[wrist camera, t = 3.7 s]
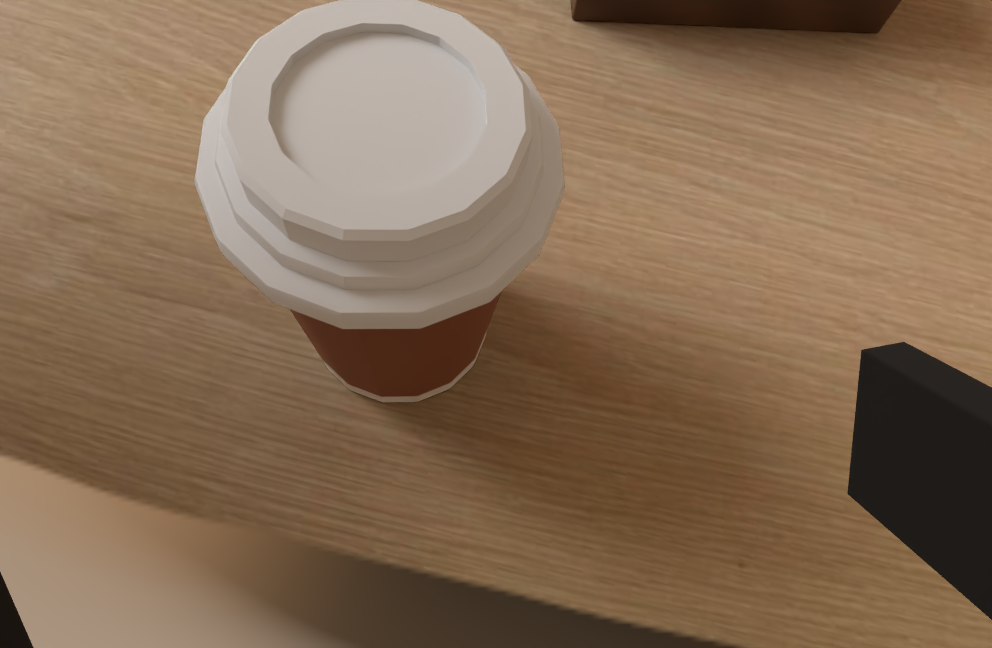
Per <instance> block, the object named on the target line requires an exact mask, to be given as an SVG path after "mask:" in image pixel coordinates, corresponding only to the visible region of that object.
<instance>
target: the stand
mask: <svg viewBox="0 0 992 648" xmlns="http://www.w3.org/2000/svg"><path fill="white" fill-rule="evenodd" d="M900 1H901V0H571V10H572V19H573V20H587V21H610V22H633V23H656V24H679V25H703V26H726V27H749V28H772V29H795V30H819V31H842V32H865V33H878V32H879V31H880V29H881V28H882V26H883V25H884V24H885V22H886V21H887V19H888V18H889V17H890V15H891V14H892V12H893V11H894V10H895V8H896V7H897V6H898V4H899V3H900Z"/></svg>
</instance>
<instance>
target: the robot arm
mask: <svg viewBox="0 0 992 648" xmlns="http://www.w3.org/2000/svg"><path fill="white" fill-rule="evenodd" d="M848 495H850V496H851V497H852V498H853V499H854V500H855V501H856V502H858V503H859V504H860V505H861V506H862V507H863V508H864V509H866V510H867V511H868V512H869V513H870V514H871V515H872V516H874V517H875V518H876V519H877V520H878V521H879V522H880V523H882V524H883V525H884V526H885V527H886V528H887V529H888V530H890V531H891V532H892V533H893V534H894V535H895V536H896V537H898V538H899V539H900V540H901V541H902V542H903V543H904V544H906V545H907V546H908V547H909V548H910V549H911V550H912V551H914V552H915V553H916V554H917V555H918V556H919V557H921V558H922V559H923V560H924V561H925V562H926V563H927V564H929V565H930V566H931V567H932V568H933V569H934V570H935V571H937V572H938V573H939V574H940V575H941V576H942V577H943V578H945V579H946V580H947V581H948V582H949V583H950V584H951V585H953V586H954V587H955V588H956V589H957V590H958V591H959V592H961V593H962V594H963V595H964V596H965V597H966V598H967V599H969V600H970V601H971V602H972V603H973V604H974V605H975V606H977V607H978V608H979V609H980V610H981V611H982V612H983V613H985V614H986V615H987V616H988V617H989V618H990V619H991V620H992V388H991V387H989V386H988V385H986V384H984V383H982V382H980V381H978V380H976V379H974V378H972V377H970V376H968V375H966V374H965V373H963V372H961V371H959V370H957V369H955V368H953V367H951V366H949V365H947V364H945V363H943V362H942V361H940V360H938V359H936V358H934V357H932V356H930V355H928V354H926V353H924V352H922V351H920V350H918V349H917V348H915V347H913V346H911V345H909V344H907V343H905V342H901V343H896V344H891V345H885V346H880V347H875V348H869V349H864V350H862V351H861V361H860V371H859V381H858V392H857V402H856V412H855V423H854V433H853V443H852V453H851V464H850V474H849V484H848ZM0 648H33V646H32V644H31V641H30V639H29V637H28V634H27V632H26V630H25V627H24V626H23V623H22V621H21V618H20V616H19V614H18V611H17V609H16V607H15V605H14V602H13V600H12V598H11V595H10V593H9V591H8V589H7V587H6V584H5V582H4V579H3V577H2V575H1V572H0Z"/></svg>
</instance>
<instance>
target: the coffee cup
mask: <svg viewBox="0 0 992 648" xmlns="http://www.w3.org/2000/svg"><path fill="white" fill-rule="evenodd" d="M194 182H195V185H196V188H197V191H198V193H199V196H200V199H201V202H202V205H203V207H204V210H205V213H206V216H207V218H208V221H209V224H210V227H211V230H212V232H213V235H214V238H215V241H216V243H217V245H218V247H219V249H220V251H221V252H222V254H223V256H224V257H225V258H226V259H228V260H229V261H230V262H231V263H232V264H233V265H234V266H235V267H236V268H237V269H238V270H239V271H240V272H241V273H242V274H243V275H244V276H245V277H246V278H247V279H248V280H249V281H250V282H252V283H253V284H254V285H255V286H256V287H257V288H258V289H259V290H260V291H261V292H262V293H263V294H264V295H265V296H266V297H267V298H268V299H269V300H270V301H271V302H272V303H275V304H278V305H280V306H283V307H285V308H288V309H290V310H291V312H292V313H293V315H294V316H295V318H296V319H297V321H298V322H299V324H300V325H301V327H302V329H303V330H304V332H305V333H306V335H307V336H308V338H309V339H310V341H311V342H312V344H313V345H314V347H315V348H316V350H317V352H318V353H319V355H320V356H321V358H322V359H323V361H324V364H325V366H326V368H327V369H328V370H330V371H331V372H332V373H333V374H334V375H335V376H336V377H337V378H338V379H339V380H340V381H341V382H342V383H343V384H344V385H345V386H346V387H347V388H348V389H349V390H351V391H354V392H356V393H359V394H362V395H364V396H367V397H369V398H372V399H375V400H377V401H380V402H419V401H421V400H423V399H426V398H428V397H431V396H433V395H436V394H438V393H441V392H443V391H446V390H448V389H450V388H451V387H452V386H453V385H454V384H455V383H456V382H457V381H458V380H459V379H460V378H461V377H462V376H464V375H465V374H466V373H467V372H468V371H469V370H470V369H471V368H472V367H473V366H474V364H475V361H476V359H477V357H478V354H479V352H480V349H481V347H482V344H483V342H484V340H485V337H486V332H487V328H488V325H489V323H490V320H491V317H492V315H493V312H494V309H495V307H496V304H497V302H498V299H499V296H500V294H501V291H502V290H503V289H504V288H505V287H507V286H508V285H509V284H510V283H511V282H512V281H513V280H514V279H515V278H516V277H517V276H518V275H519V274H520V273H521V272H522V271H524V270H525V269H526V268H527V267H528V266H529V265H530V264H531V263H532V262H533V261H534V260H535V259H536V258H537V257H538V256H539V254H540V252H541V249H542V247H543V244H544V242H545V239H546V237H547V234H548V232H549V229H550V227H551V224H552V222H553V219H554V217H555V214H556V212H557V209H558V207H559V204H560V202H561V199H562V195H563V192H564V188H565V181H564V170H563V159H562V148H561V137H560V128H559V126H558V124H557V122H556V121H555V119H554V117H553V116H552V114H551V112H550V110H549V109H548V107H547V105H546V104H545V102H544V100H543V99H542V97H541V95H540V94H539V92H538V90H537V89H536V87H535V85H534V84H533V82H532V80H531V79H530V77H529V75H527V74H526V73H525V72H523V71H522V70H521V69H520V68H518V67H517V66H516V65H515V64H514V63H513V61H512V59H511V58H510V56H509V54H508V53H507V51H506V49H505V47H503V46H502V45H501V44H500V43H498V42H497V41H496V40H494V39H493V38H492V37H490V36H489V35H488V34H486V33H485V32H484V31H482V30H481V29H480V28H478V27H477V26H476V25H475V24H473V23H472V22H471V21H469V20H468V19H467V18H465V17H464V16H462V15H459V14H456V13H453V12H450V11H447V10H444V9H441V8H438V7H435V6H432V5H429V4H426V3H423V2H420V1H418V0H339V1H335V2H331V3H328V4H324V5H320V6H316V7H312V8H309V9H305V10H302V11H300V12H299V13H297V14H295V15H294V16H292V17H291V18H289V19H288V20H286V21H285V22H283V23H282V24H280V25H279V26H277V27H276V28H274V29H273V30H271V31H269V32H268V33H266V34H265V35H263V36H262V37H260V38H259V39H257V40H256V41H255V43H254V44H253V45H252V47H251V48H250V50H249V51H248V53H247V54H246V56H245V57H244V58H243V60H242V61H241V63H240V64H239V66H238V67H237V69H236V70H235V71H234V73H233V74H232V76H231V77H230V79H229V80H228V82H227V86H226V88H225V89H224V91H223V92H222V94H221V95H220V96H219V98H218V99H217V101H216V102H215V104H214V105H213V107H212V108H211V109H210V111H209V112H208V114H207V115H206V117H205V118H204V122H203V129H202V135H201V142H200V148H199V155H198V162H197V168H196V175H195V181H194Z"/></svg>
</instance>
